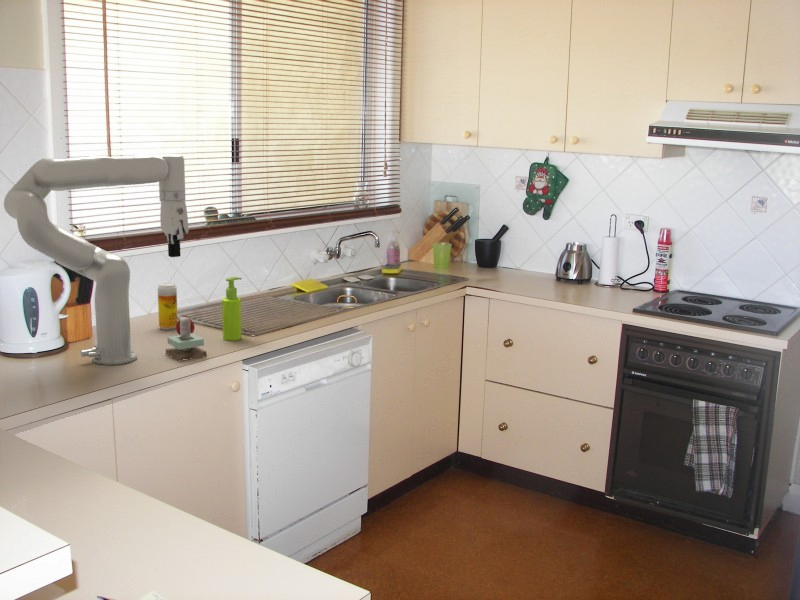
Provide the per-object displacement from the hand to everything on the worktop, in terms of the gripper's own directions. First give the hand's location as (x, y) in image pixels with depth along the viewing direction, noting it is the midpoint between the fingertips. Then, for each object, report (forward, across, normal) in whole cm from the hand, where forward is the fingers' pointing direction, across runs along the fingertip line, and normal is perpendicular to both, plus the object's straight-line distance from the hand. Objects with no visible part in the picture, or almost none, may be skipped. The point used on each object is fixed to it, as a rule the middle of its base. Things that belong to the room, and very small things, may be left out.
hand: (174, 256), depth 263 cm
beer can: (+29, +24, -8) cm, 39 cm away
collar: (+26, -8, +1) cm, 27 cm away
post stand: (+29, -8, +1) cm, 30 cm away
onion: (+29, +9, -7) cm, 31 cm away
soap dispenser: (+29, +1, -20) cm, 35 cm away
